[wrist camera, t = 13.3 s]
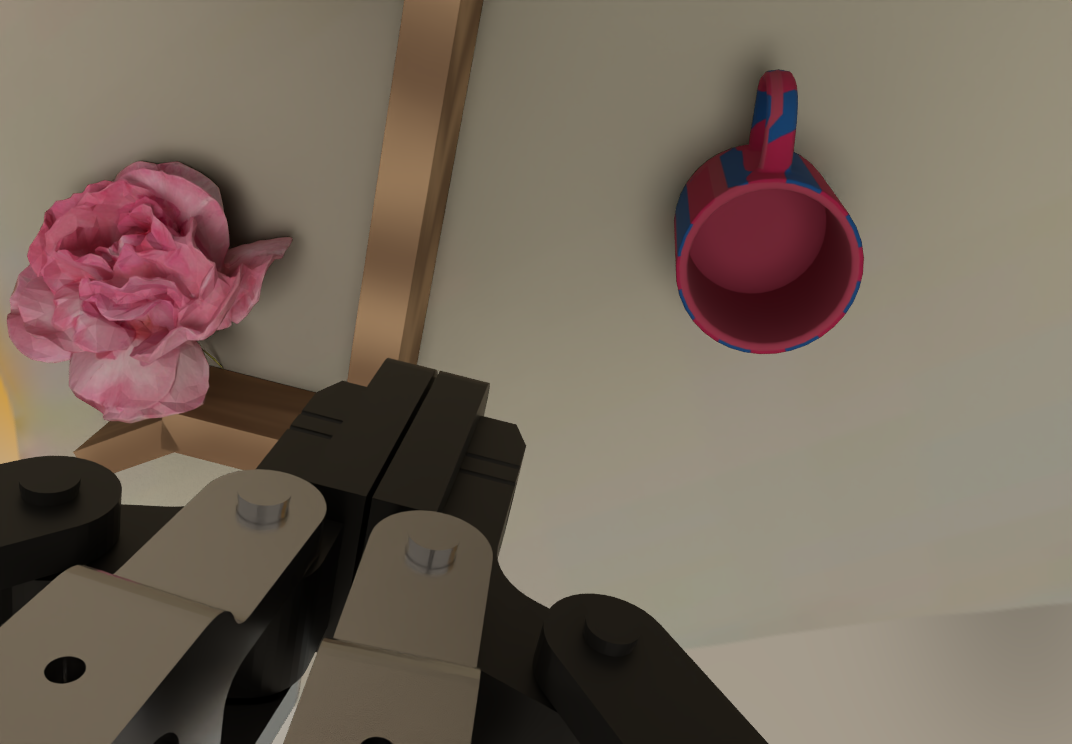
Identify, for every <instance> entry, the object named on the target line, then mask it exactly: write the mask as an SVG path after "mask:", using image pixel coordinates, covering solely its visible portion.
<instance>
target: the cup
mask: <svg viewBox="0 0 1072 744" xmlns="http://www.w3.org/2000/svg"><path fill="white" fill-rule="evenodd" d="M797 109H798V93H797V85H796V81H795V78H794V77H793V75H792V73H791V72H790V71H784V70H779V69H778V70H771V71H767V72H765V73H764V75H763V76H762V77H761V79H760V81H759V85H758V90H757V96H756V102H755V108H754V115H753V121H752V127H751V132H750V139H749V144H748V145H742V146H738V147H734V148H731V149H728V150H726V151H724V152H721V153H719V154H717V155H716V156H714V157H713V158H711V159H709V160H708V161H706V162H705V163H704V164H703V165H702V166H701V167H700V168H699V169H698V170H696V171H695V173H694V174H693V175H692V177H691V178H690V179H689V180H688V182H687V183H686V185H685V187H684V189H683V191H682V192H681V194H680V197H679V200H678V203H677V206H676V211H675V218H674V232H675V258H676V282H677V286H678V291H679V295H680V298H681V300H682V303H683V305H684V307H685V309H686V311H687V312H688V314H689V316H690V317H691V319H692V320H693V322H694V323H695V324H696V325H697V326H698V327H699V328H700V329H701V330H702V331H703V332H704V333H706V334H707V335H708V336H710V337H711V338H712V339H714V340H715V341H717V342H719V343H721V344H723V345H725V346H727V347H729V348H732V349H736V350H739V351H742V352H748V353H756V354H776V353H781V352H786V351H791V350H794V349H797V348H800V347H802V346H805V345H807V344H809V343H811V342H813V341H815V340H817V339H818V338H820V337H822V336H823V335H824V334H826V333H827V332H828V331H829V330H831V329H832V328H833V327H834V326H835V325H836V324H837V323H838V322H839V321H840V320H841V319H842V318H843V317H844V315H845V314H846V312H847V311H848V309H849V308H850V306H851V305H852V303H853V301H854V299H855V297H856V295H857V292H858V290H859V287H860V283H861V279H862V275H863V263H864V255H863V248H862V242H861V239H860V236H859V233H858V230H857V227H856V225H855V224H854V222H853V220H852V219H851V217H850V215H849V214H848V212H847V211H846V209H845V208H844V206H843V205H842V204H841V202H840V201H839V199H838V198H837V197H836V195H835V194H834V192H833V191H832V190H831V188H830V187H829V185H828V184H827V183H826V181H825V180H824V178H823V177H822V175H821V174H820V173H819V172H818V171H817V170H816V168H815V167H814V166H813V165H812V164H811V163H810V162H808V161H807V160H806V159H804V158H803V157H802V156H801V155H799V154H797V153H795V152H793V151H794V143H795V134H796V124H797Z"/></svg>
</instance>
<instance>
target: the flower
mask: <svg viewBox="0 0 1072 744" xmlns="http://www.w3.org/2000/svg"><path fill="white" fill-rule="evenodd" d="M292 240H293V239H292V237H281V238H275V239H269V240H258V241H256V242H253V243H251V244H243V245H240V246H237V247H234V248H232V249H228V248H229V231H228V224H227V219H226V217H225V214H224V209H223V203H222V198H221V194H220V189H219V188H218V186H217V185H216V184H215V183H214V182H212V181H211V180H210V179H209V178H207V177H206V176H204V175H203V174H202V173H200V172H198V171H196V170H194V169H192V168H190V167H188V166H186V165H184V164H182V163H180V162H178V161H176V162H168V163H162V164H155V163H149V162H142V161H138V162H135V163H132V164H131V165H129V166H127V167H126V168H124V169H123V170H122V171H121V172H119V173H118V174H117V176H116V178H115V179H114V181H105V180H103V181H101V182H98V183H95V184H89V185H87V187H86V188H85V190H84V191H83V193H74V194H73V195H72V196H71V197H70V198H68V199H65V200H60V201H56V202H55V203H54V205H53V206H52V207H51V208H50V209H48V210H47V211H46V212H45V216H44V223H43V225H42V227H41V229H40V231H39V233H38V235H37V236H36V238H35V239H34V241H33V242H32V244H31V245H30V247H29V251H28V254H27V257H28V260H29V262H30V265H29V266H28V267H27V268H26V269H24V270H23V271H22V272H21V273H20V274H19V275H18V279H17V282H16V285H15V288H14V291H13V293H12V295H11V298H10V303H11V313H9V314H8V316H7V325H8V332H9V337H10V339H11V340H12V342H13V343H14V345H15V346H16V347H17V349H18V350H19V351H20V352H21V353H23V354H24V355H25V356H27V357H29V358H30V359H32V360H36V361H42V362H48V363H57V362H62V361H66V360H70V366H69V387H70V389H71V390H72V391H73V393H74V394H75V396H76V397H77V398H79V399H81V400H82V401H84V402H86V403H87V404H89V405H91V406H92V407H94V408H96V409H97V410H99V411H100V412H101V413H103V414H104V415H103V418H104V420H108V421H120V422H125V423H134V422H138V421H141V420H145V419H149V418H161V417H166V416H171V415H175V414H179V413H184V412H187V411H190V410H193V409H195V408H197V407H199V406H201V405H203V404H204V401H205V396H206V393H207V390H208V388H209V382H208V380H209V370H210V366H209V364H208V362H207V360H206V357H205V355H204V353H203V351H204V350H203V349H202V348H201V347H200V345H199V344H198V342H197V340H204V339H206V338H208V337H209V336H211V335H213V333H214V332H215V331H216V330H221V329H224V328H227V327H230V326H231V321H232V322H234V323H236V324H238V323H239V322H240V321H241V320H242V319H244V318H245V317H246V316H247V315H248V314H249V312H250V311H251V309H252V307H253V306H254V305H255V304H256V303H257V302H258V301H259V297H260V291H261V287H262V282H263V278H264V276H265V274H266V272H267V270H268V268H269V266H270V265H271V264H272V262H273V261H274V260H276V259H281V258H282V257H283V255H284V253H285V251H286V250H287V249H288V247H289V246H290V244H291V242H292ZM204 352H205V353H207V352H206V351H204ZM207 354H208V353H207ZM208 355H209V356H210V357H211V358H212V359H213V360H214V361H215V362H216V363H217V364H218V365H219V366H220V367H222V366H221V365H220V364H219V363H218V362H217V360H216V359H215V358H213V357H212V356H211V355H210V354H208ZM222 368H223V367H222Z"/></svg>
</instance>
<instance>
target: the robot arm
mask: <svg viewBox="0 0 1072 744" xmlns="http://www.w3.org/2000/svg"><path fill="white" fill-rule="evenodd" d="M489 387H490V383H487V382H483V381H479V380H475V379H471V378H467V377H463V376H459V375H455V374H451V373H447V372H443V371H440V372H439V374H438V372H437V370H435V369H431V368H427V367H423V366H419V365H415V364H411V363H407V362H403V361H399V360H395V359H391V358H386V360H385V361H384V362H383V364H382V365H381V367H380V368H379V370H378V371H377V373H376V374H375V375H374V377H373V378H372V380H371V381H370V383H369V384H368V386H367V387H365V386H361V385H357V384H354V383H350V382H346V381H341V382H339V383H336V384H334V385H332V386H330V387H327V388H325V389H323V390H321V391H318V392H316V393H315V395H314V396H313V397H312V398H311V400H310V401H309V402H308V403H307V405H306V406H305V407H304V408H303V410H302V413H301V414H299V415H298V416H297V417H296V419H295V420H294V421H293V422H292V424H291V425H290V429H287V430H286V431H285V432H284V434H283V435H282V436H281V437H280V439H279V440H278V441H277V443H276V444H275V445H274V446H273V448H272V449H271V450H270V451H269V453H268V454H267V455H266V456H265V458H264V459H263V460H262V462H261V463H260V464H259V465H258V467H257V468H256V469H255V470H243V471H237V472H232V473H228V474H226V475H223V476H220V477H218V478H216V479H215V480H213V481H211V482H210V483H209V484H207V485H206V486H205V487H204V488H203V489H202V490H201V491H200V492H199V493H198V494H197V495H196V496H195V497H194V498H193V499H192V500H191V501H189V502H188V503H187V504H186V505H185V506H181V507H163V506H143V505H123V504H121V493H122V487H121V483H120V481H119V479H118V478H117V476H116V475H115V474H114V473H113V472H112V471H111V470H109V469H108V468H106V467H104V466H103V465H100V464H98V463H96V462H93V461H89V460H86V459H81V458H76V457H68V456H42V457H33V458H27V459H22V460H18V461H13V462H8V463H4V464H0V744H272V742H273V740H274V739H275V737H276V735H277V734H278V732H279V730H280V728H281V727H282V725H283V724H284V722H285V720H286V719H287V717H288V715H289V714H290V712H291V711H292V709H293V707H294V706H295V703H296V701H297V699H298V695H299V690H300V683H301V677H302V676H303V674H304V673H305V671H306V669H307V667H308V665H309V663H310V661H311V659H312V657H313V655H314V653H315V652H317V655H316V657H315V660H314V663H313V665H312V668H311V671H310V673H309V676H308V679H307V681H306V684H305V687H304V689H303V692H302V695H301V697H300V700H299V703H298V705H297V708H296V711H295V713H294V716H293V719H292V721H291V724H290V727H289V730H288V732H287V735H286V737H285V740H284V743H283V744H768V743H767V742H766V741H765V739H764V738H763V737H762V736H761V735H760V734H759V733H758V732H757V730H755V728H754V727H753V726H752V725H751V724H750V723H749V722H748V721H747V720H746V719H745V717H744V716H743V715H742V714H741V713H740V712H739V711H738V710H737V708H736V707H735V706H734V705H733V704H732V703H731V702H730V701H729V700H728V699H727V697H726V696H725V695H724V694H723V693H722V692H721V691H720V690H719V689H718V688H717V687H716V685H715V684H714V683H713V682H712V681H711V680H710V679H709V678H708V677H707V675H706V674H705V673H704V672H703V671H702V670H701V669H700V668H699V667H698V666H697V664H696V663H695V662H694V661H693V660H692V659H691V658H690V657H689V656H688V655H687V653H685V651H684V650H683V649H682V648H681V647H680V646H679V645H678V643H677V642H676V641H675V640H674V639H673V638H672V637H671V636H670V635H669V634H668V632H667V631H666V630H665V629H664V628H663V627H662V626H661V625H660V624H659V623H658V622H657V621H656V620H655V619H654V618H653V617H652V616H650V615H649V614H648V613H646V612H645V611H644V610H642V609H640V608H638V607H637V606H635V605H633V604H631V603H629V602H626V601H624V600H621V599H618V598H615V597H611V596H607V595H600V594H578V595H572V596H569V597H566V598H563V599H561V600H559V601H558V602H556V603H555V604H554V605H553V606H551V608H550V609H549V608H547V607H545V606H543V605H541V604H539V603H538V602H536V601H534V600H532V599H531V598H529V597H527V596H526V595H524V594H523V593H522V592H520V591H519V590H518V589H517V588H515V587H514V586H513V585H512V584H511V583H510V582H509V580H508V579H507V578H506V577H505V575H504V574H503V572H502V570H501V568H500V566H499V563H498V555H499V552H500V548H501V544H502V541H503V537H504V533H505V529H506V525H507V521H508V517H509V513H510V509H511V505H512V501H513V497H514V493H515V489H516V485H517V481H518V476H519V472H520V468H521V464H522V460H523V456H524V452H525V448H526V445H525V442H524V440H523V438H522V436H521V434H520V431H519V429H518V427H517V425H516V424H512V423H508V422H504V421H500V420H496V419H492V418H488V417H484V412H485V408H486V403H487V399H488V394H489Z"/></svg>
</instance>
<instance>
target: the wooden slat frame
mask: <svg viewBox="0 0 1072 744" xmlns="http://www.w3.org/2000/svg"><path fill="white" fill-rule="evenodd" d="M482 5H483V0H404V6H403V13H402V20H401V26H400V33H399V40H398V46H397V53H396V60H395V66H394V73H393V80H392V86H391V93H390V100H389V106H388V113H387V120H386V126H385V133H384V140H383V146H382V153H381V160H380V166H379V173H378V180H377V186H376V193H375V200H374V206H373V213H372V220H371V226H370V233H369V240H368V246H367V253H366V260H365V266H364V273H363V280H362V286H361V293H360V300H359V306H358V313H357V320H356V326H355V333H354V340H353V346H352V353H351V360H350V366H349V373H348V380H347V382H350V383H354V384H357V385H361V386H365V387H367V386H368V384H369V383H370V381H371V380H372V378H373V377H374V375H375V374H376V373H377V371H378V370H379V368H380V367H381V365H382V364H383V362H384V361H385V360H386V358H391V359H395V360H399V361H403V362H407V363H411V364H415V365H417V360H418V355H419V350H420V344H421V339H422V333H423V328H424V322H425V317H426V311H427V306H428V300H429V295H430V289H431V284H432V278H433V273H434V268H435V262H436V257H437V251H438V246H439V240H440V235H441V229H442V224H443V218H444V213H445V207H446V202H447V196H448V191H449V185H450V180H451V175H452V169H453V164H454V158H455V153H456V147H457V142H458V136H459V131H460V125H461V120H462V114H463V109H464V103H465V98H466V93H467V87H468V82H469V76H470V71H471V65H472V60H473V54H474V49H475V43H476V38H477V32H478V27H479V21H480V16H481V10H482ZM208 382H209V388H208V390H207V393H206V396H205V401H204V404H203V405H201V406H199V407H197V408H195V409H193V410H190V411H187V412H184V413H179V414H175V415H171V416H166V417H161V418H149V419H145V420H141V421H138V422H134V423H125V422H120V421H110V422H108V423H107V424H106V425H105V426H104V427H102V428H101V429H100V430H99V431H98V432H97V433H95V434H94V435H93V436H92V437H91V438H89V439H88V440H87V441H86V442H85V443H84V444H82V445H81V446H80V447H79V448H78V449H76V450H75V451H74V454H75V455H76V457H77V458H81V459H86V460H89V461H93V462H96V463H98V464H100V465H103V466H104V467H106V468H108V469H109V470H111V471H112V472H113V473H116V472H119V471H122V470H124V469H127V468H130V467H133V466H136V465H139V464H142V463H145V462H147V461H150V460H153V459H156V458H159V457H162V456H165V455H168V454H170V453H173V452H176V453H180V454H184V455H187V456H191V457H195V458H199V459H203V460H207V461H211V462H215V463H219V464H222V465H226V466H230V467H234V468H238V469H242V470H255V469H256V468H257V467H258V465H259V464H260V463H261V462H262V460H263V459H264V458H265V456H266V455H267V454H268V453H269V451H270V450H271V449H272V448H273V446H274V445H275V444H276V443H277V441H278V440H279V439H280V437H281V436H282V435H283V434H284V432H285V431H286V430H287V429H290V425H291V424H292V422H293V421H294V420H295V419H296V417H297V416H298V415H299V414H301V413H302V410H303V408H304V407H305V406H306V405H307V403H308V402H309V401H310V400H311V398H312V397H313V396H314V395H315V393H314V392H310V391H306V390H303V389H299V388H295V387H291V386H287V385H283V384H279V383H275V382H271V381H267V380H263V379H259V378H255V377H251V376H248V375H244V374H240V373H236V372H232V371H228V370H224V369H220V368H216V367H212V366H211V367H210V370H209V380H208Z"/></svg>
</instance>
